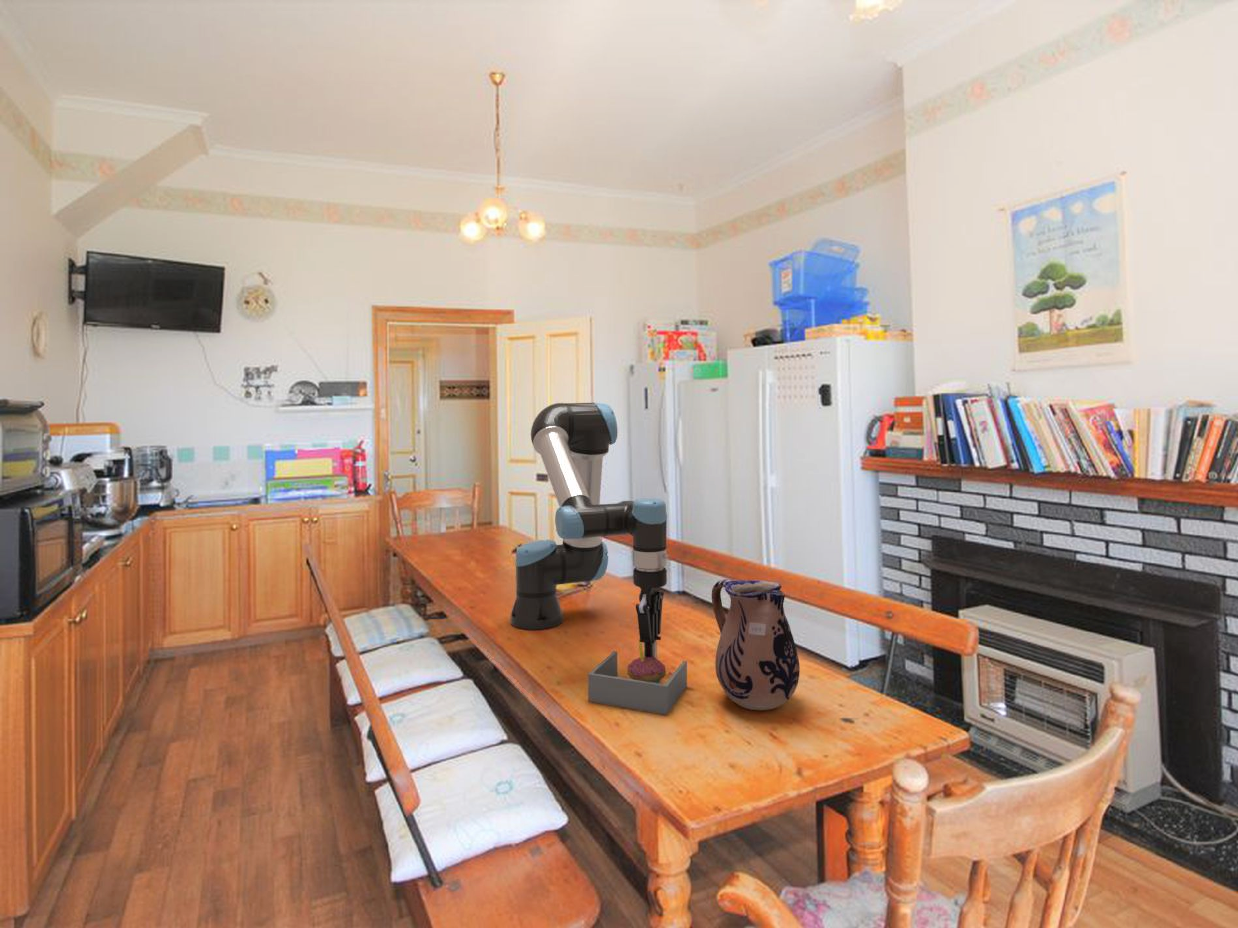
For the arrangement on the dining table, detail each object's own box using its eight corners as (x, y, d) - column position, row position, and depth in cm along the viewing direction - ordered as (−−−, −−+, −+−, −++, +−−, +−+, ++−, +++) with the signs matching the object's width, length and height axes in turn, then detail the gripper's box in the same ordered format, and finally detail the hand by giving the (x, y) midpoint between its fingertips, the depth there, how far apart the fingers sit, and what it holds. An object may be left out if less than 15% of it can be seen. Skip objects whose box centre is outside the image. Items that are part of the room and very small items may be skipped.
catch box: (588, 701, 144) (588, 674, 143) (614, 675, 157) (614, 650, 157) (667, 714, 137) (667, 686, 137) (686, 687, 151) (687, 661, 150)
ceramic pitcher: (773, 729, 131) (775, 603, 129) (685, 698, 145) (685, 584, 143) (813, 700, 144) (815, 585, 142) (729, 674, 158) (730, 569, 156)
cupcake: (644, 701, 144) (644, 646, 143) (619, 688, 150) (619, 636, 149) (673, 690, 149) (673, 637, 148) (648, 678, 156) (648, 628, 155)
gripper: (656, 575, 144) (657, 682, 147) (674, 562, 156) (674, 660, 159) (624, 572, 147) (625, 677, 149) (643, 559, 159) (644, 656, 161)
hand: (650, 668), depth 154 cm, fingers closed
